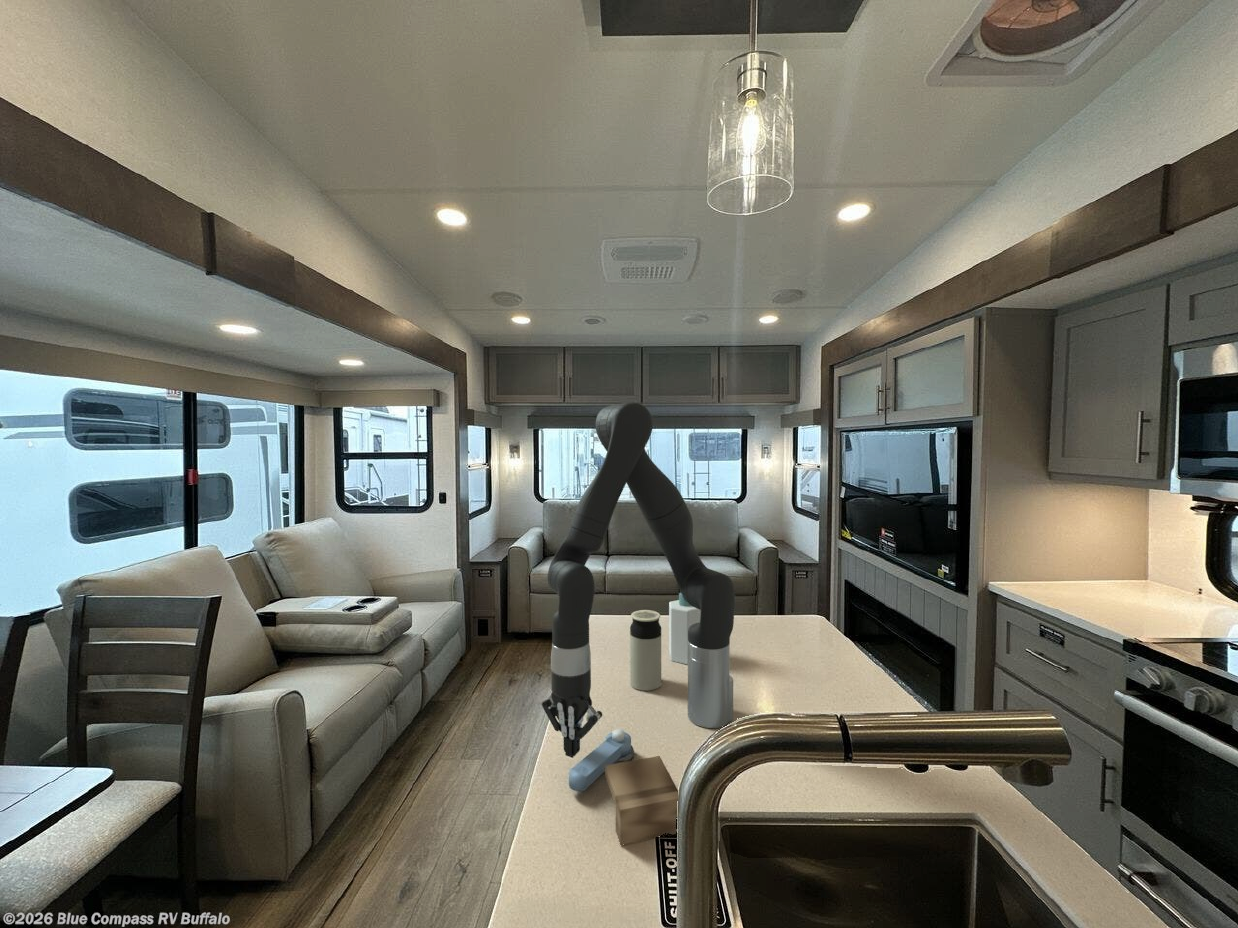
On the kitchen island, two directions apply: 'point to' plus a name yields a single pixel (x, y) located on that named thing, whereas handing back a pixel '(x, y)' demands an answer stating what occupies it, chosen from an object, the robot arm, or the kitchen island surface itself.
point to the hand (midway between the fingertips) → (571, 754)
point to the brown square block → (642, 799)
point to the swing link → (599, 760)
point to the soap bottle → (681, 628)
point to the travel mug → (645, 650)
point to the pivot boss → (626, 757)
